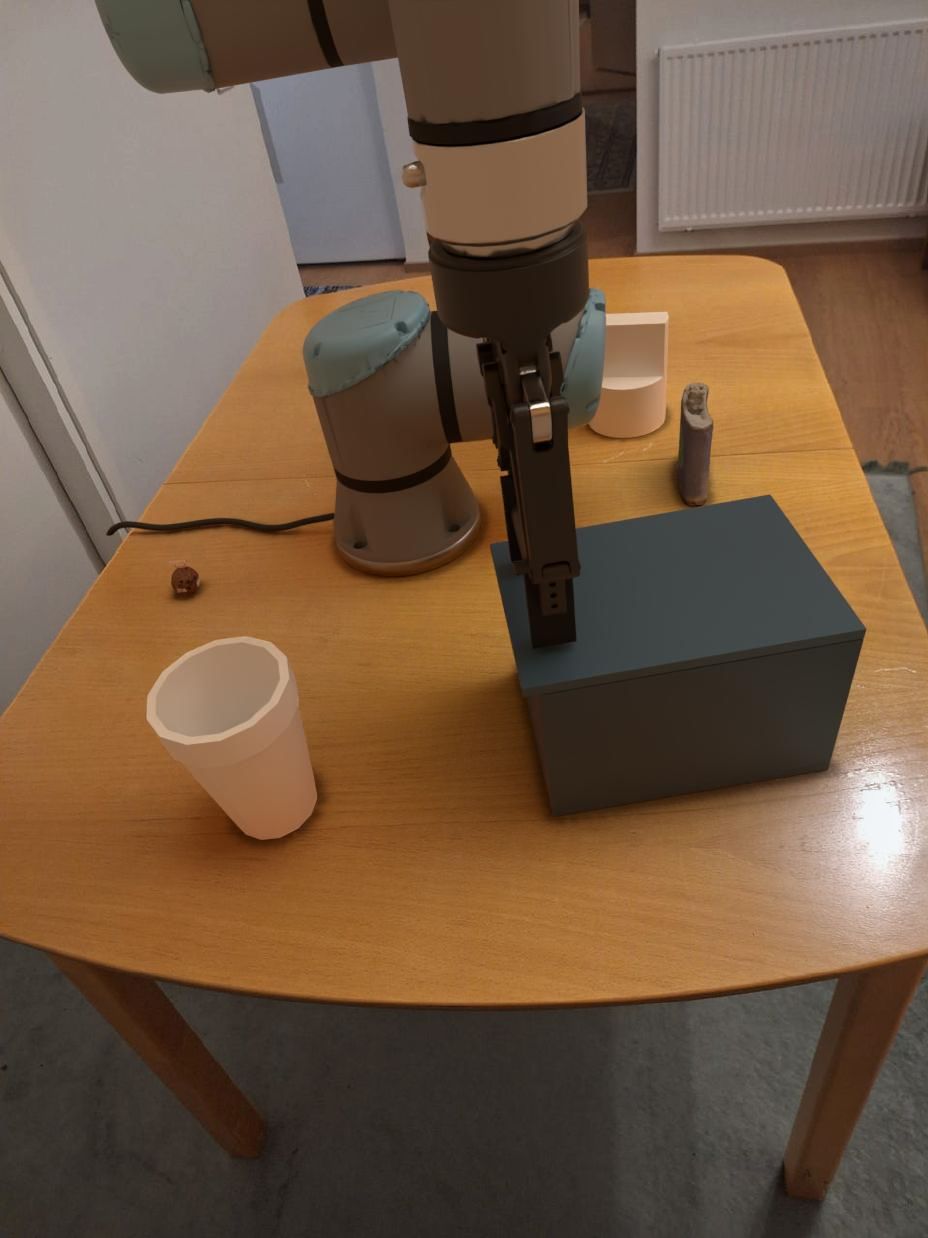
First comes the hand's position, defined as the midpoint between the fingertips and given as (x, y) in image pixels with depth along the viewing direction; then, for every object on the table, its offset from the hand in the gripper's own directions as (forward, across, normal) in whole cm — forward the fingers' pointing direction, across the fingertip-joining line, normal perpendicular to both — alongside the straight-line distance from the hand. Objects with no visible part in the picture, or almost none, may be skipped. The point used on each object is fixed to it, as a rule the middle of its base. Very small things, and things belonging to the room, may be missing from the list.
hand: (540, 595), depth 53 cm
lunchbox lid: (+1, 0, +8) cm, 8 cm away
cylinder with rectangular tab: (+14, -45, +17) cm, 50 cm away
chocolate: (+14, -26, -33) cm, 44 cm away
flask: (+14, -30, +20) cm, 39 cm away
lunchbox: (+14, 0, +8) cm, 16 cm away
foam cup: (+14, +2, -22) cm, 26 cm away
